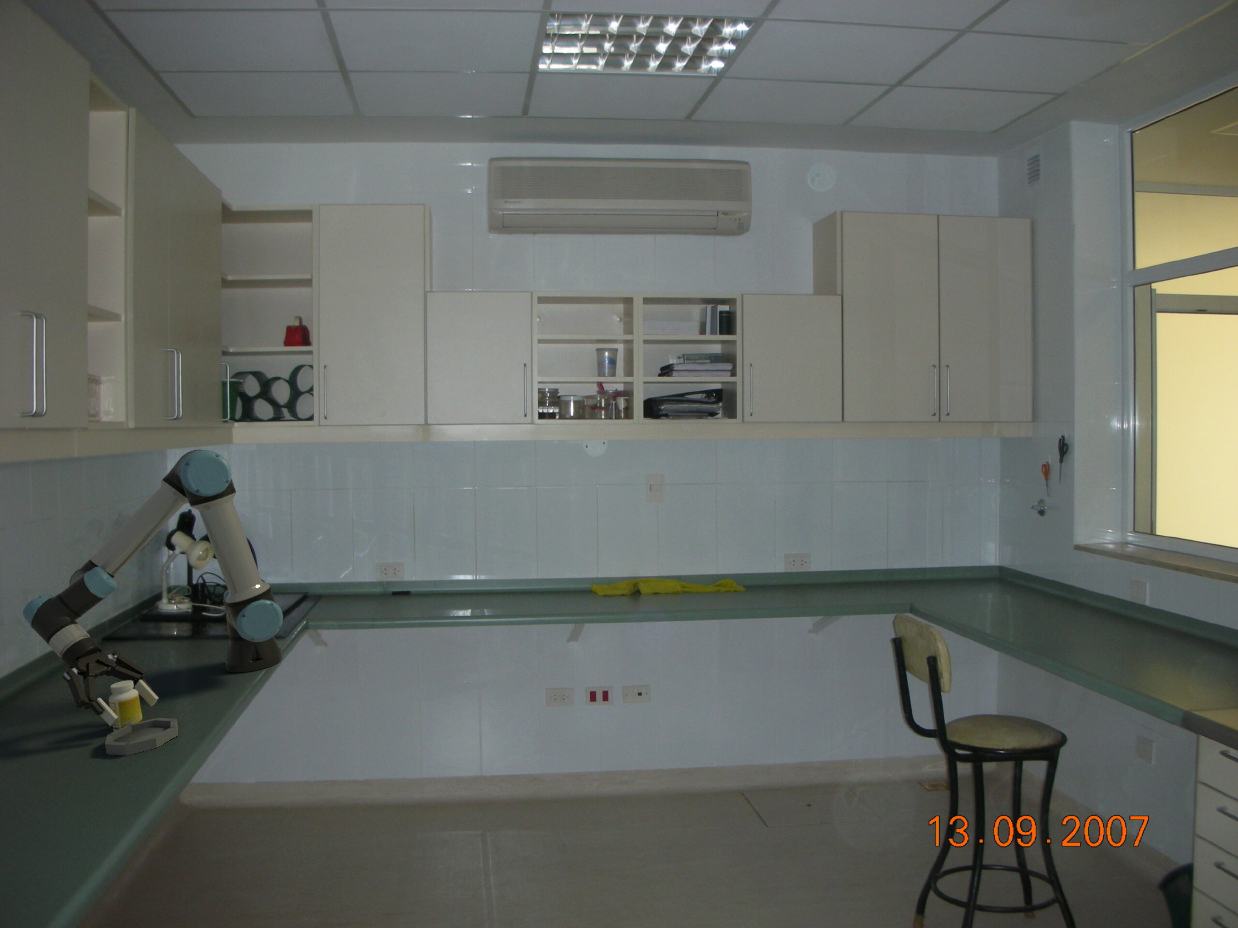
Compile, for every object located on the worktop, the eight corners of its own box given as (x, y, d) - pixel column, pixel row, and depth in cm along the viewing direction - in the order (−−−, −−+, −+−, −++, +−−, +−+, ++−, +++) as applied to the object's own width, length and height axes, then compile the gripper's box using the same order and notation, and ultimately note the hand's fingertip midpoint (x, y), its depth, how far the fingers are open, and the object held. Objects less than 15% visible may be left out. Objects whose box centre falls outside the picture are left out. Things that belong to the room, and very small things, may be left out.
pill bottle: (148, 721, 199) (142, 677, 198) (134, 732, 193) (127, 686, 192) (122, 723, 199) (116, 680, 198) (107, 734, 193) (101, 689, 191)
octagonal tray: (144, 726, 196) (143, 717, 195) (191, 729, 191) (190, 719, 191) (92, 753, 182) (90, 742, 182) (141, 756, 178) (140, 745, 178)
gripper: (111, 642, 210) (167, 702, 207) (22, 675, 187) (84, 743, 184) (124, 622, 208) (181, 683, 205) (36, 653, 185) (98, 721, 182)
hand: (135, 711), depth 194 cm, fingers open, 11 cm apart
